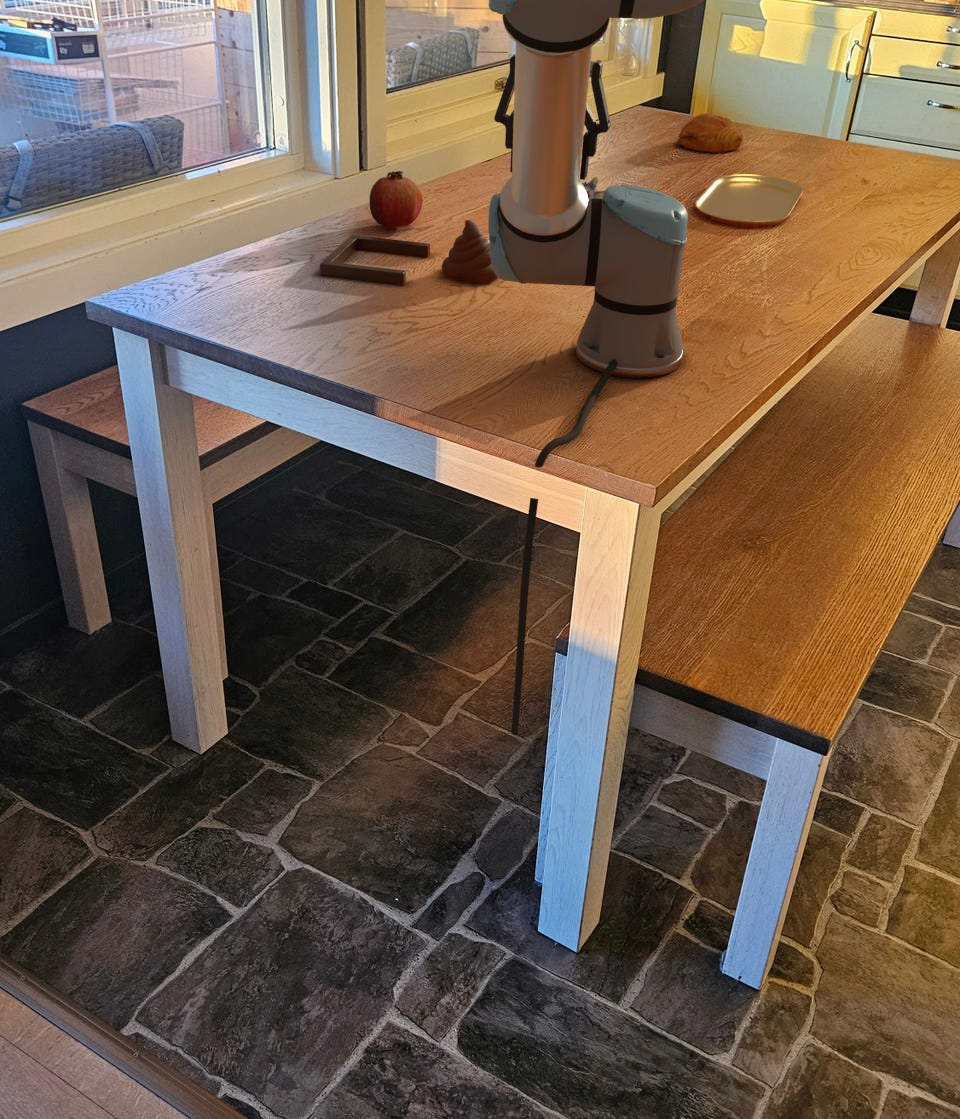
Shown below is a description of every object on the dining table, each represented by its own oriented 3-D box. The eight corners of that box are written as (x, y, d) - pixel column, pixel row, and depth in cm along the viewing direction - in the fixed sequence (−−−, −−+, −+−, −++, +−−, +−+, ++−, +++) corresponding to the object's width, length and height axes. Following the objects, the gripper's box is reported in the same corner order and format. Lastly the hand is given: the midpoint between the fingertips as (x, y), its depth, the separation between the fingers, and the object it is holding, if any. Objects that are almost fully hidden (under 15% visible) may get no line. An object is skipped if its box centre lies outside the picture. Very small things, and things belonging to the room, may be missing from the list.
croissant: (701, 144, 272) (703, 110, 269) (751, 149, 262) (754, 113, 258) (662, 150, 264) (664, 115, 261) (712, 155, 254) (714, 118, 250)
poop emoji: (434, 279, 181) (435, 224, 176) (451, 263, 188) (453, 209, 183) (491, 288, 179) (493, 232, 173) (506, 272, 185) (509, 217, 180)
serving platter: (684, 220, 213) (685, 212, 212) (722, 177, 240) (723, 170, 239) (780, 234, 208) (781, 226, 207) (807, 189, 234) (809, 181, 233)
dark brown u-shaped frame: (403, 285, 179) (403, 273, 177) (320, 275, 181) (319, 263, 180) (430, 254, 191) (430, 243, 190) (352, 245, 194) (351, 234, 193)
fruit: (389, 214, 210) (389, 161, 204) (433, 224, 206) (433, 170, 200) (357, 228, 202) (355, 173, 196) (401, 239, 198) (400, 183, 192)
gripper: (640, 20, 159) (624, 174, 172) (489, 9, 163) (483, 160, 176) (634, 28, 153) (617, 187, 166) (476, 16, 157) (472, 172, 170)
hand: (548, 173), depth 171 cm, fingers open, 10 cm apart
